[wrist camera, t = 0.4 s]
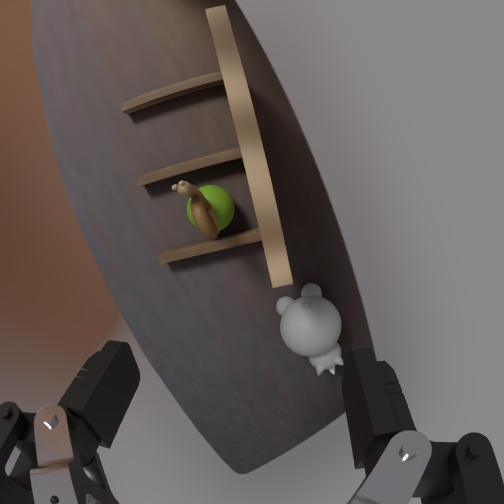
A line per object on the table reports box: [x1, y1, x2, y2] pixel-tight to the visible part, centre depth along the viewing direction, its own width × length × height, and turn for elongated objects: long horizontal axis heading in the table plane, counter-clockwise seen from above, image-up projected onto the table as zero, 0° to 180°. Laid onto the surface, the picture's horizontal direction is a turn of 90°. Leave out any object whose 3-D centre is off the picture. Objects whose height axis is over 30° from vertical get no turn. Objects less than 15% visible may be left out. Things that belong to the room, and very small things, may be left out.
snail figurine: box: [172, 180, 235, 240], centre depth 30 cm, size 5×6×12 cm
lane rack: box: [121, 5, 293, 288], centre depth 26 cm, size 22×14×16 cm, turn 13°
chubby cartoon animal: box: [276, 283, 344, 375], centre depth 35 cm, size 8×12×9 cm, turn 25°
